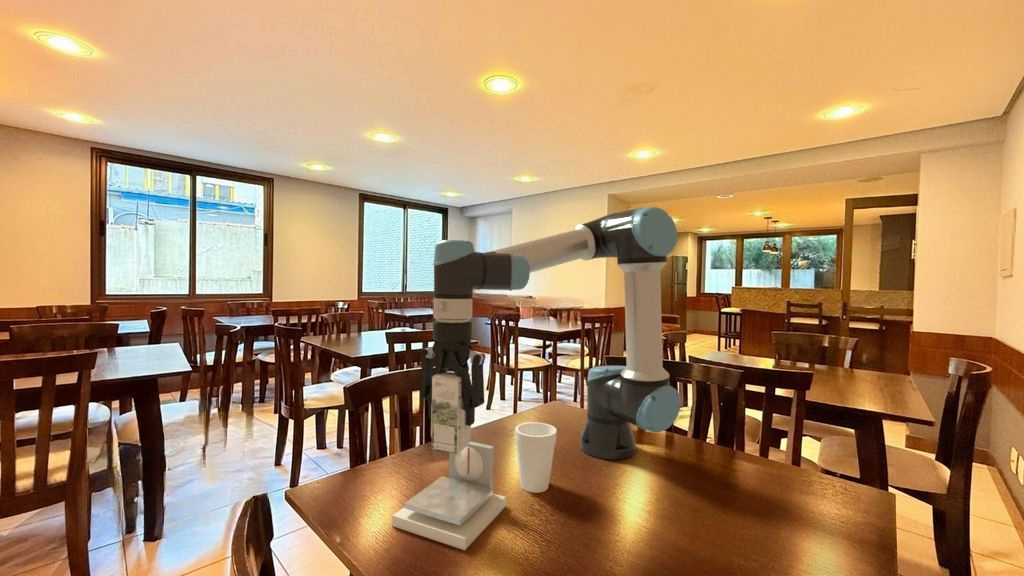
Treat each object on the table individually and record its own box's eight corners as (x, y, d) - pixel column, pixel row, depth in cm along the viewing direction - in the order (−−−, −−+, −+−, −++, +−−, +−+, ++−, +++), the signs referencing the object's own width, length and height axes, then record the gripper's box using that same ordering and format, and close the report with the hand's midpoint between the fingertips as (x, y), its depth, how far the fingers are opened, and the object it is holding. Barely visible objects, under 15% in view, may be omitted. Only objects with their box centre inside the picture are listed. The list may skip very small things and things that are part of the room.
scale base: (505, 506, 89) (506, 449, 89) (464, 550, 74) (465, 481, 74) (441, 488, 96) (441, 435, 95) (392, 526, 81) (392, 463, 81)
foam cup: (552, 498, 92) (554, 438, 92) (510, 493, 94) (511, 434, 94) (557, 478, 102) (558, 424, 101) (518, 474, 103) (519, 420, 103)
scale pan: (492, 494, 87) (492, 489, 87) (460, 525, 76) (460, 520, 76) (442, 480, 93) (442, 476, 93) (404, 508, 82) (404, 503, 82)
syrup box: (470, 444, 86) (471, 372, 86) (456, 455, 80) (458, 378, 80) (444, 440, 88) (445, 369, 88) (429, 450, 82) (431, 375, 82)
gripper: (401, 318, 84) (399, 435, 85) (486, 325, 76) (483, 454, 77) (424, 316, 91) (422, 424, 92) (505, 321, 83) (502, 440, 83)
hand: (450, 437), depth 84 cm, fingers closed on syrup box, 6 cm apart
